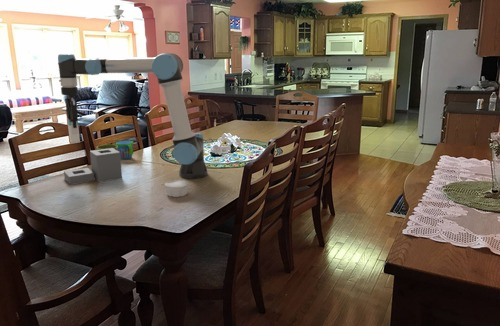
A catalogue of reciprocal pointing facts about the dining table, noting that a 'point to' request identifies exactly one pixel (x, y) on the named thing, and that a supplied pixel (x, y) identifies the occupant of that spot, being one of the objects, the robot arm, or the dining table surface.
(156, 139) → the dining table surface
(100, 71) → the robot arm
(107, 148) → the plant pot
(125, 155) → the snack cup
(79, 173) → the plate
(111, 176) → the block
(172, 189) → the ramekin
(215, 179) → the dining table surface
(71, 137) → the plug
